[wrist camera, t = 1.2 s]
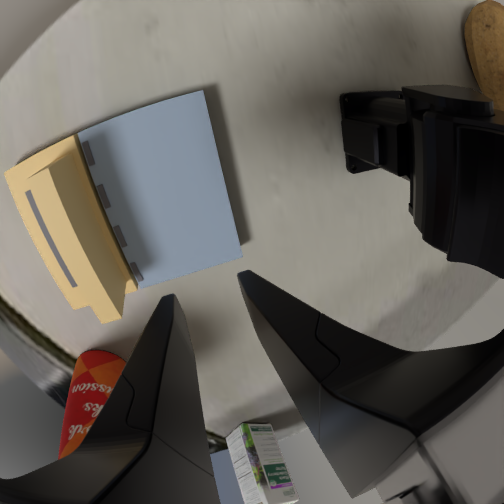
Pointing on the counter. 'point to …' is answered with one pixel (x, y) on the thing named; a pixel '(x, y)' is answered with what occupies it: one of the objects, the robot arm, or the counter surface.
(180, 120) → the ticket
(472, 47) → the potato
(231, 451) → the syrup box
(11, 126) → the counter surface
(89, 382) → the coffee cup
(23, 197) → the stub
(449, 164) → the robot arm
